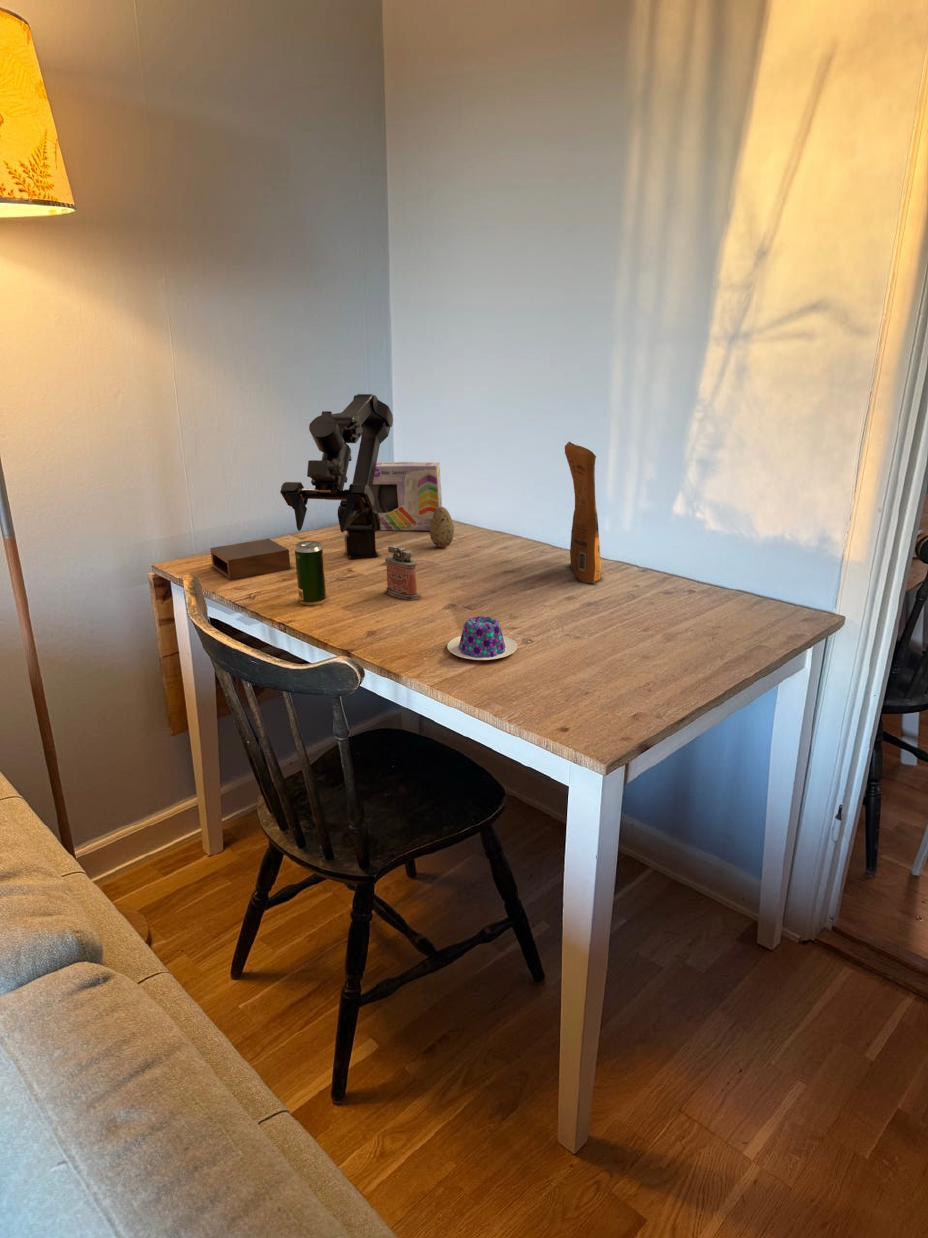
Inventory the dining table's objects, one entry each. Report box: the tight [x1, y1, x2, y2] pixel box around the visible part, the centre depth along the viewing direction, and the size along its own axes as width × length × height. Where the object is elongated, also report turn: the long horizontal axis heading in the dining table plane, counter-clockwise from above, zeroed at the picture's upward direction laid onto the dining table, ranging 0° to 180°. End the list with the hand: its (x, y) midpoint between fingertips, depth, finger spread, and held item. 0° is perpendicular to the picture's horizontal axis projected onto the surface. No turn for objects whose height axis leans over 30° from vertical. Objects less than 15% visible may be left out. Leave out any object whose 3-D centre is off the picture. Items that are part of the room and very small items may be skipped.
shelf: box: [210, 538, 291, 581], centre depth 187 cm, size 14×12×4 cm
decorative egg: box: [429, 506, 455, 548], centre depth 201 cm, size 6×6×10 cm
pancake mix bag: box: [564, 441, 602, 585], centre depth 177 cm, size 7×19×28 cm, turn 3°
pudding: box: [446, 615, 518, 661], centre depth 141 cm, size 12×12×5 cm
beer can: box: [294, 540, 327, 606], centre depth 164 cm, size 5×5×12 cm
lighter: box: [384, 545, 419, 601], centre depth 167 cm, size 8×3×10 cm, turn 47°
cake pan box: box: [372, 461, 443, 531], centre depth 216 cm, size 19×5×18 cm, turn 81°
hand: (320, 530), depth 168 cm, fingers open, 9 cm apart
